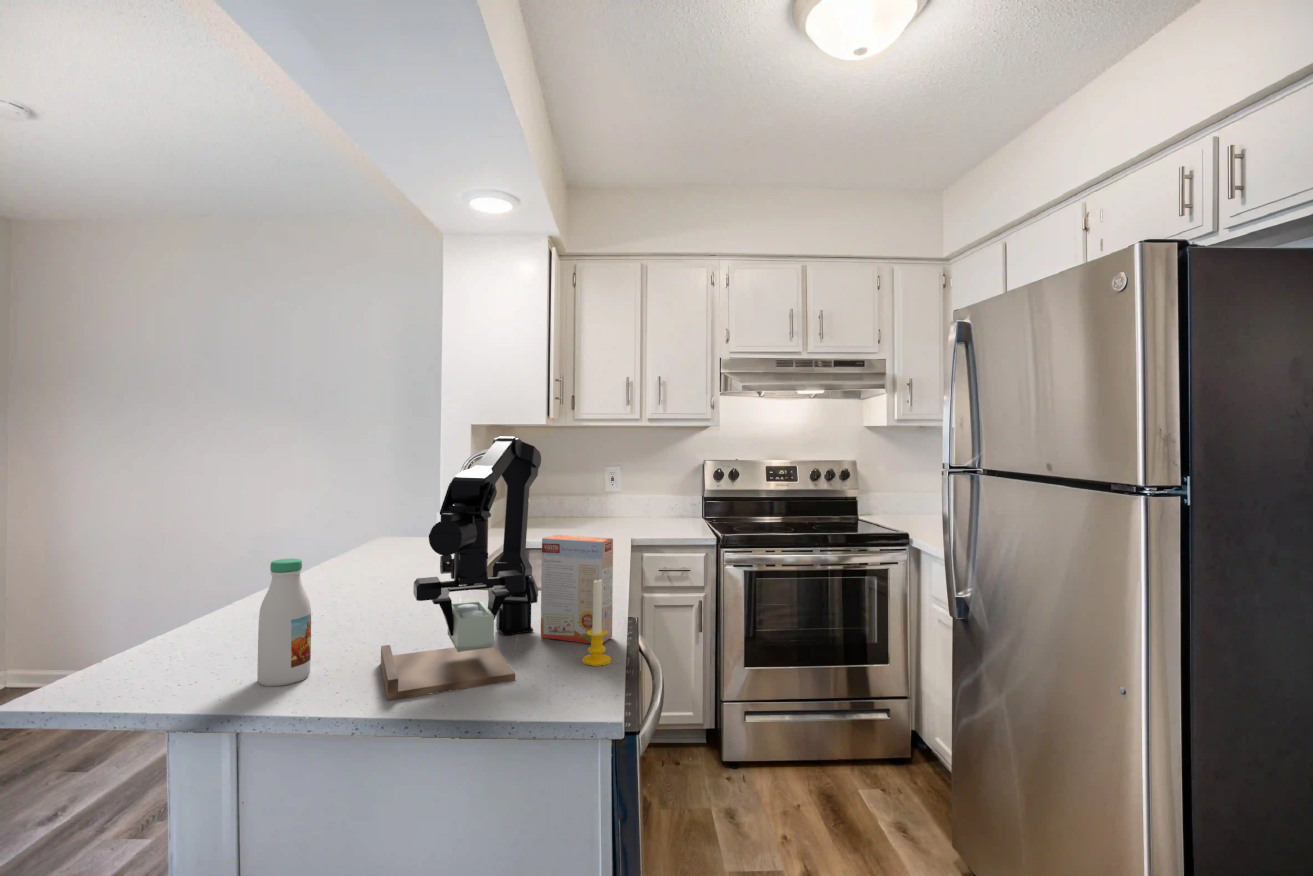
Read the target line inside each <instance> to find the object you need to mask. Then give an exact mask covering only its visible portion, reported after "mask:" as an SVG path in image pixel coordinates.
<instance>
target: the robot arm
mask: <svg viewBox="0 0 1313 876" xmlns="http://www.w3.org/2000/svg"><path fill="white" fill-rule="evenodd" d="M541 464H542V454H541V452H540V450H538V448H537V447H536V446H534V445H533V444H529V443H527V442H524V441H523V440H521V439H520V438H518V437H516V436H498V437H495V438H494V439H493V441H492V445H491V446H490V448H489V449H488V450H487V451H486V452H485V453H484V455H483V456H482V457H481V458H480V459H479V460H478V462H477V463H476V464H475V465H474V466H473V467H472V468H468V469H465V470H462V471H460V472H459V473H458V474H456V475H455V476H453V478H452V480H451V481H450V483H448V484H449V485H448V486H447V489H446V493H445V495H444V499H443V502H442V504H441V507H440V511H439V516H440V521H438V522H437V523H436V524H434V525H433V526H432V528H431V529H430V532H429V534H428V542H429V543H428V544H429V546H430V547H431V549H432V550H433V551H434V552H435V553H436V554H438V555H440V557H439V559H440V560H439V564H440V565H439V570H440V571H439V572H440V574H441V575H445V574H450V579H451V580H448V581H447V580H445V581H441V580H440V578H439V577H438V576H430V577H418V578H416V579H415V580H414V582H413V596H414V598H415V600H416V601H418V602H419V601H420V602H422V601H424V602H425V601H431V602H432V603H433V605H439V607H440V610H441V611H442V614H443V617H444V620H445V624H446V627H447V631H448V630H449V633H450V635H451V636H453V630H454V626H453V612H452V603H453V602H452V601H453V600H452V598H451V597H450V593H451V592H452V593H453V592H462V591H473V590H482V589H483V590H485V589H487V593H488V597H487V598H488V599H487V600H488V601H487V608H488V609H489V610H490V611H491V613H492V614H493V615H494V620H495V619H496V621H495V622H496V625H495V627H496V629H497V630H498V631H499V632H500V633H501V634H502V636H507V635H516V634H524V633H532V632H533V633H534V628H533V627H532V604H535V603H538V597H539V588H538V585H537V583H536V580H535V578H534V575H533V567H532V564H531V563H530V561H529V559H528V557H527V555H526V551H527V550H526V549H527V532H528V519H529V518H528V517H529V515H528V514H529V502H530V499H529V498H530V487H531V486H532V484H533V483H534V481H535V480H536V479H537V477H538V475H539V468H540V467H541ZM501 477H502V478H503V480H504V482H505V485H506V488H507V489H506V501H505V503H506V504H505V517H504V530H503V533H504V534H503V546H502V548H503V549H502V555H501V557H499V559H498V561H497V562H494V564H493V566H492V576H491V577H489V576H488V566H489V565H488V560H489V552H488V550H489V549H488V548H489V545H488V544H489V518H491V516H492V514H491V508H492V507H493V504H494V501H495V499H496V496H497V492H498V491H497V488H496V487H497V486H496V483H497V482H498V481H499V479H500V478H501ZM452 555H454V556H453V557H452Z"/></svg>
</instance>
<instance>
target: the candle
mask: <svg viewBox="0 0 1313 876" xmlns="http://www.w3.org/2000/svg"><path fill="white" fill-rule="evenodd" d="M607 633H608V632H607V631H606V630H602V580H598V579H597V580H595V581H594V588H593V626H592V630H589V631H587V634H588V635H591V638H592V639H591V644H590V645H591V646H589V647H588V648H587V651H588V652H589V653H590V654H587V655H584V657H582V663H583V664H584V663H585V664H584V665H586V664H588V665H587V666H589V665H593V666H592V667H602V666H601V665H603V666H605V665H609V664H610V663H611V661H612V658H611V656H609V655H608V654H603V653H604V652H606V647H605V646H604V645H603V644H604V643H603V639H602V638H603V635H606V634H607ZM595 665H596V666H595Z"/></svg>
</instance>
